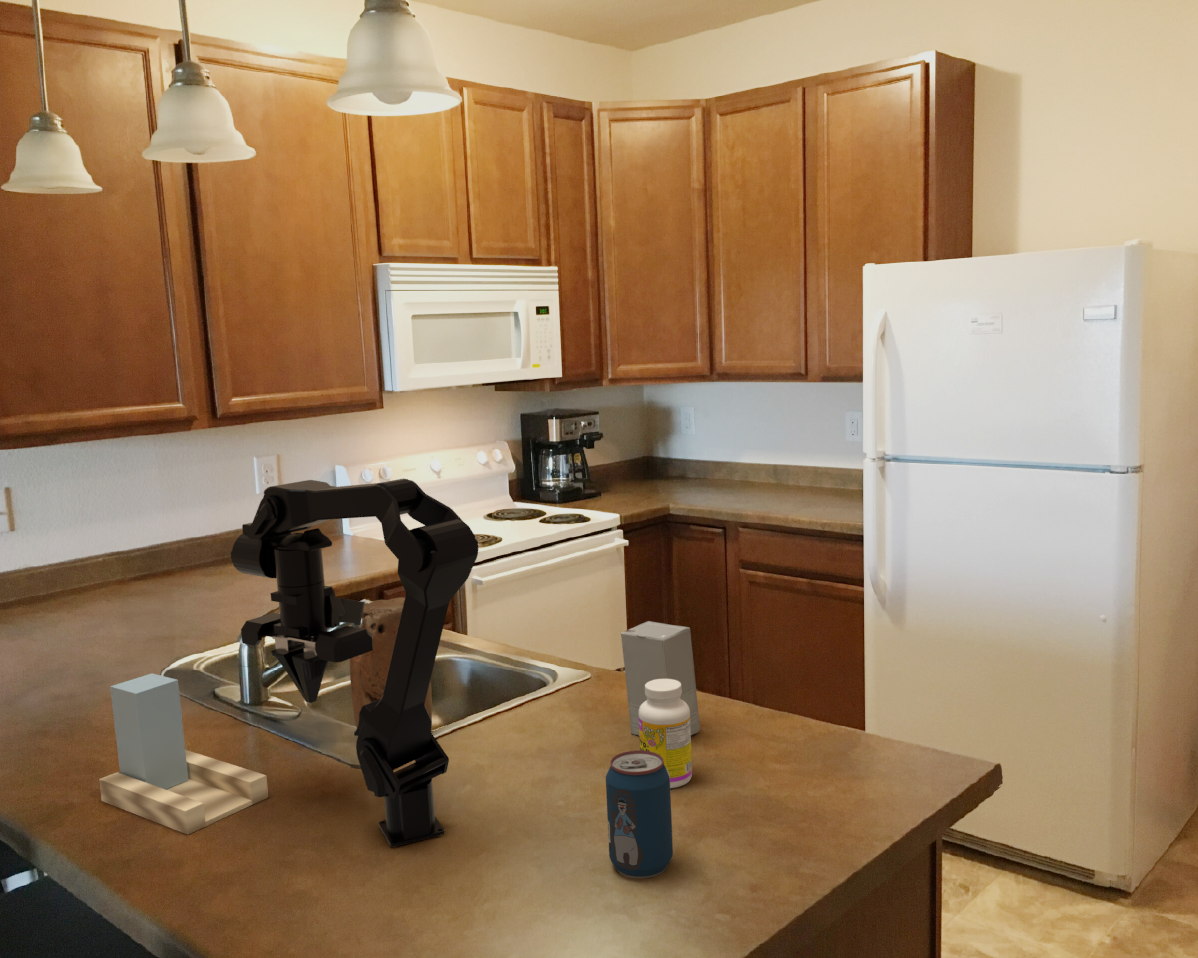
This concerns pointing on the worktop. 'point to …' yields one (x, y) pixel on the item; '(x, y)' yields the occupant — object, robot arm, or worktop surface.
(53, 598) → the worktop surface
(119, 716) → the grey rectangular block
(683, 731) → the supplement bottle
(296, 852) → the worktop surface
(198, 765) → the chute
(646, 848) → the soda can
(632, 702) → the skincare box
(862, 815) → the worktop surface
